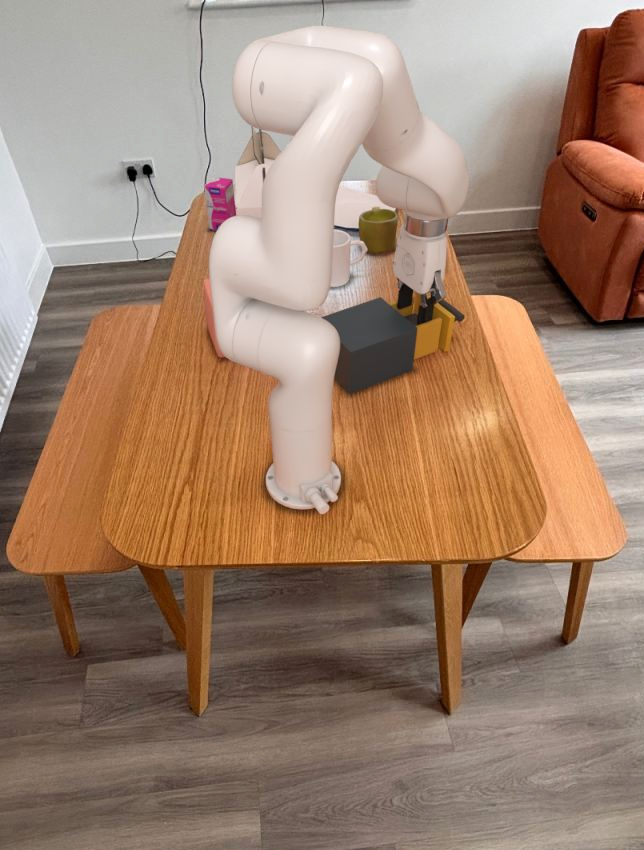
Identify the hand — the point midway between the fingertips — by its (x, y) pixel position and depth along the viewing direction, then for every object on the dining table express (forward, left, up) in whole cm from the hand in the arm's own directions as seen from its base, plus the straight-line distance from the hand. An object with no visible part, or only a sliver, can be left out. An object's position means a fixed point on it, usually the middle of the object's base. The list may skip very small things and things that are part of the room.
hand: (414, 314), depth 125 cm
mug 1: (+31, -2, -8) cm, 32 cm away
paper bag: (+48, +8, -8) cm, 49 cm away
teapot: (+20, +25, -8) cm, 33 cm away
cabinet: (0, +11, -8) cm, 14 cm away
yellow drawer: (0, -1, -7) cm, 7 cm away
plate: (+56, -21, -8) cm, 60 cm away
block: (0, 0, -6) cm, 6 cm away
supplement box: (+69, +11, -8) cm, 70 cm away
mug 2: (+40, -18, -8) cm, 45 cm away
